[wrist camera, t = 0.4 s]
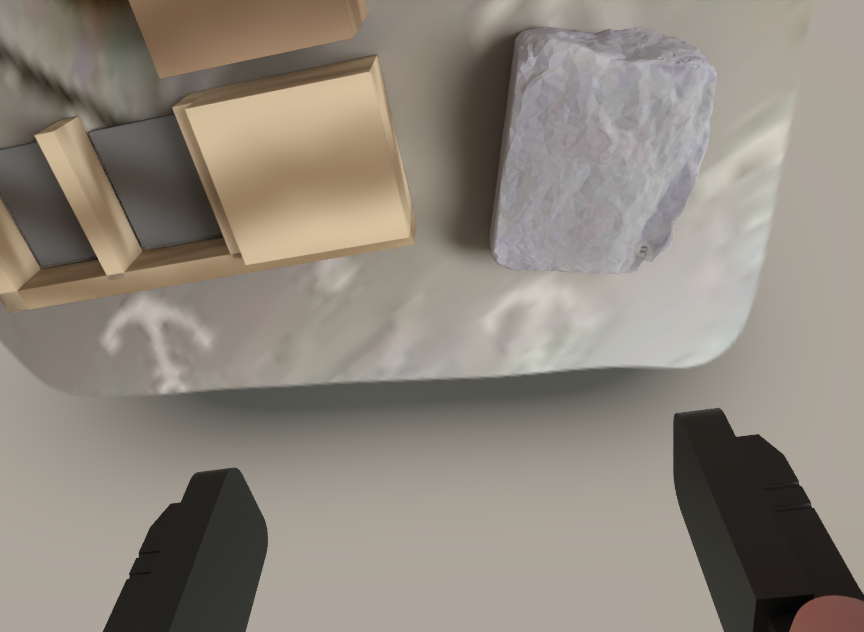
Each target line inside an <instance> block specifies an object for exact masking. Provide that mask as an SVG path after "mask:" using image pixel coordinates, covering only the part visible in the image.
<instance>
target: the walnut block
mask: <svg viewBox="0 0 864 632" xmlns="http://www.w3.org/2000/svg"><path fill="white" fill-rule="evenodd" d="M129 3H130V5H131V8H132V10H133V13H134V15H135V18H136V20H137V23H138V25H139V28H140V30H141V33H142V35H143V38H144V40H145V43H146V45H147V48H148V50H149V53H150V55H151V58H152V60H153V63H154V65H155V68H156V70H157V73H158V75H159V78H160V79H161V78H166V77H170V76H175V75H180V74H184V73H189V72H194V71H199V70H203V69H208V68H213V67H218V66H222V65H227V64H232V63H237V62H241V61H246V60H251V59H256V58H260V57H265V56H270V55H275V54H279V53H284V52H289V51H294V50H298V49H303V48H308V47H313V46H317V45H322V44H327V43H332V42H336V41H341V40H346V39H351V38H352V37H353V36H354V34H355V33H356V31H357V30H358V28H359V27H360V25H361V24H362V22H363V21H364V19H365V18H366V16H367V15H368V12H367V7H366V3H365V0H129Z"/></svg>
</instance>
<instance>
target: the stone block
mask: <svg viewBox="0 0 864 632" xmlns="http://www.w3.org/2000/svg"><path fill="white" fill-rule="evenodd" d="M716 80H717V74H716V71H715V68H714V67H713V66H712V64H711V63H710V61H709V59H708V58H707V57H706V56H705V55H704V54H703V53H701V52H700V51H699V50H698V48H696V47H695V46H693V45H691V44H689V43H686V42H685V41H682V40H680V39H677V38H673V37H668V36H665V35H661V34H659V33H656V32H655V31H653V30H646V29H643V28H634V29H625V30H615V31H613V30H611V29H608V30H605V31H602V32H599V33H596V34H595V33H583V32H580V31H576V30H573V31H572V30H569V29H558V28H548V27H539V28H532V29H529V30H524V31H522V32H521V33H520V34H519V35H518V36H517V37H516V39H515V43H514V52H513V59H512V66H511V74H510V82H509V90H508V98H507V105H506V113H505V121H504V128H503V135H502V143H501V151H500V159H499V167H498V176H497V183H496V191H495V198H494V204H493V212H492V219H491V225H490V240H489V246H490V249H491V255H492V257H493V259H494V261H495V262H496V263H497V264H499V265H501V266H504V267H506V268H509V269H513V270H523V269H527V270H533V271H537V270H551V271H564V272H579V273H586V274H622V273H630V272H634V271H637V270H638V269H639V268H640V267H641V266H642V265H643V264H644V263H645V261H649V262H653V261H655V260H656V259H657V258H658V257H659V256H660V255H661V254H662V253H663V252H664V251H665V250H666V249H667V248H668V247H669V246H670V244H671V242H672V240H673V229H674V224H675V222H676V220H677V218H678V217H679V216H680V214H681V213H682V212H683V211H684V209H685V207H686V205H687V203H688V201H689V198H690V195H691V193H692V191H693V189H694V186H695V183H696V180H697V177H698V174H699V171H700V168H699V166H700V164H701V162H702V160H703V158H704V155H705V152H706V150H707V147H708V140H709V136H710V121H709V118H710V116H711V115H712V114H713V98H714V94H715V86H716Z"/></svg>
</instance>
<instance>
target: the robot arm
mask: <svg viewBox="0 0 864 632" xmlns="http://www.w3.org/2000/svg"><path fill="white" fill-rule="evenodd" d="M673 425H674V426H673V432H674V433H673V442H674V443H673V446H674V447H673V452H674V453H673V459H674V460H673V472H674V473H673V474H674V484H675V490H676V495H677V499H678V503H679V506H680V510H681V513H682V515H683V518H684V521H685V524H686V527H687V529H688V532H689V535H690V538H691V540H692V543H693V546H694V549H695V552H696V555H697V557H698V560H699V563H700V566H701V568H702V571H703V574H704V577H705V580H706V582H707V585H708V588H709V591H710V593H711V597H712V599H713V602H714V605H715V608H716V611H717V613H718V616H719V619H720V622H721V624H722V627H723V630H724V632H864V594H863V593H862V591H861V590H860V588H859V587H858V585H857V583H856V581H855V580H854V578H853V576H852V574H851V573H850V571H849V569H848V568H847V565H846V564H845V562H844V560H843V558H842V557H841V555H840V553H839V551H838V550H837V548H836V546H835V544H834V543H833V541H832V539H831V537H830V535H829V534H828V532H827V530H826V528H825V527H824V525H823V523H822V521H821V520H820V518H819V516H818V514H817V513H816V511H815V509H814V508H812V507H811V502H810V500H809V498H808V497H807V495H806V493H805V491H804V490H803V488H802V486H800V485H799V481H798V479H797V477H796V476H795V474H794V472H793V470H792V468H791V467H790V465H789V463H788V461H787V460H786V458H785V456H784V455H783V454H782V453H781V452H779V451H778V450H777V449H776V448H775V447H773V446H772V445H771V444H770V443H768V442H767V441H766V440H765V439H764V438H762V437H761V436H760V435H759V434H757V435H748V436H741V437H736V436H735V434H734V432H733V430H732V428H731V426H730V424H729V422H728V420H727V418H726V416H725V414H724V412H723V411H722V410H721V409H720V408H714V409H706V410H699V411H690V412H682V413H676V414H675V415H674V422H673ZM267 547H268V533H267V527H266V522H265V520H264V517H263V515H262V513H261V511H260V509H259V507H258V505H257V503H256V501H255V499H254V497H253V495H252V493H251V491H250V489H249V487H248V485H247V483H246V481H245V479H244V477H243V475H242V473H241V472H240V470H239V469H237V468H228V469H220V470H212V471H204V472H197V473H195V474H194V475H193V476H192V478H191V480H190V482H189V484H188V486H187V489H186V491H185V494H184V496H183V498H182V501H181V503H173V504H170V505H169V506H168V508H167V509H166V510H165V511H164V512H163V513H162V514H161V515H160V517H159V518H158V519H157V520H156V521H155V522H154V524H153V525H152V526H151V527H150V529H149V531H148V533H147V536H146V538H145V541H144V542H143V544H142V547H141V549H140V551H139V558H136V560H135V562H134V564H133V567H132V569H131V571H130V573H129V575H130V577H129V579H127V580H126V582H125V584H124V586H123V589H122V591H121V593H120V595H119V597H118V600H117V602H116V604H115V606H114V608H113V611H112V613H111V615H110V617H109V620H108V622H107V624H106V626H105V628H104V630H103V632H245V631H246V628H247V624H248V620H249V616H250V613H251V609H252V606H253V602H254V598H255V594H256V591H257V587H258V583H259V579H260V576H261V572H262V568H263V564H264V560H265V557H266V553H267Z"/></svg>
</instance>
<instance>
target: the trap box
mask: <svg viewBox="0 0 864 632" xmlns="http://www.w3.org/2000/svg"><path fill="white" fill-rule="evenodd" d="M172 109H173V111H174V114H171V115H166V116H161V117H156V118H151V119H146V120H141V121H136V122H131V123H126V124H122V125H117V126H112V127H107V128H102V129H97V130H92V131H90V132H88V133H89V135H90V137H91V139H92V141H93V143H94V145H95V148H96V150H97V152H98V154H99V156H100V158H101V160H102V162H103V164H104V167H105V169H106V171H107V173H108V175H109V177H110V179H111V181H112V184H113V186H114V188H115V190H116V192H117V194H118V196H119V198H120V200H121V203H122V205H123V207H124V209H125V211H126V213H127V215H128V217H129V219H130V222H131V224H132V226H133V228H134V230H135V232H136V234H137V236H138V238H139V241H140V243H141V245H142V247H143V248H146V247H151V246H157V245H163V244H168V243H174V242H180V241H185V240H191V239H197V238H202V237H208V236H214V235H219V234H223V237H220V238H214V239H209V240H203V241H197V242H192V243H186V244H180V245H175V246H169V247H163V248H158V249H152V250H146V251H142V249H141V247H140V245H139V243H138V241H137V239H136V237H135V235H134V233H133V230H132V228H131V226H130V224H129V222H128V220H127V218H126V216H125V214H124V211H123V209H122V207H121V205H120V203H119V201H118V199H117V197H116V195H115V193H114V190H113V188H112V186H111V184H110V182H109V180H108V178H107V176H106V174H105V171H104V169H103V167H102V165H101V163H100V161H99V159H98V157H97V155H96V153H95V150H94V148H93V146H92V144H91V142H90V140H89V138H88V136H87V134H86V131H85V129H84V127H83V125H82V123H81V121H80V119H79V117H78V116H77V117H73V118H68V119H63V120H59V121H58V122H56V123H54V124H53V125H51V126H49V127H48V128H46V129H44V130H43V131H41V132H39V133H37V134H36V135H34V136H35V138H36V140H37V142H33V143H28V144H23V145H18V146H13V147H8V148H3V149H0V193H1V195H2V197H3V199H4V200H5V202H6V204H7V206H8V207H9V209H10V211H11V213H12V214H13V216H14V218H15V220H16V222H17V223H18V225H19V227H20V229H21V230H22V232H23V234H24V236H25V237H26V239H27V241H28V243H29V244H30V246H31V248H32V250H33V251H34V253H35V255H36V257H37V258H38V260H39V262H40V264H41V265H42V266H44V265H50V264H55V263H61V262H67V261H72V260H78V259H84V258H89V257H95V256H97V258H98V259H95V260H89V261H84V262H78V263H72V264H67V265H61V266H55V267H50V268H44V269H40V267H39V265H38V263H37V262H36V260H35V258H34V256H33V255H32V253H31V251H30V249H29V248H28V246H27V244H26V242H25V241H24V239H23V237H22V235H21V234H20V232H19V230H18V228H17V227H16V225H15V223H14V221H13V220H12V218H11V216H10V214H9V213H8V211H7V209H6V208H5V206H4V204H3V202H2V201H1V199H0V300H1V301H2V303H3V305H4V306H5V308H6V309H7V311H8V313H10V312H16V311H22V310H28V309H34V308H40V307H46V306H52V305H58V304H64V303H70V302H76V301H82V300H88V299H94V298H100V297H106V296H111V295H117V294H123V293H129V292H135V291H141V290H147V289H153V288H159V287H165V286H171V285H177V284H183V283H189V282H195V281H201V280H207V279H213V278H218V277H224V276H230V275H236V274H242V273H248V272H254V271H260V270H266V269H272V268H278V267H284V266H290V265H296V264H302V263H308V262H314V261H320V260H325V259H331V258H337V257H343V256H349V255H355V254H361V253H367V252H373V251H379V250H385V249H391V248H397V247H403V246H409V245H414V240H415V231H416V221H415V216H414V212H413V208H412V203H411V199H410V195H409V190H408V186H407V182H406V177H405V173H404V169H403V164H402V160H401V156H400V151H399V147H398V143H397V138H396V134H395V130H394V125H393V121H392V117H391V112H390V108H389V104H388V99H387V95H386V91H385V86H384V82H383V77H382V73H381V69H380V64H379V60H378V56H377V55H373V56H368V57H363V58H358V59H354V60H349V61H344V62H339V63H334V64H329V65H325V66H320V67H315V68H310V69H305V70H300V71H295V72H291V73H286V74H281V75H276V76H271V77H266V78H262V79H257V80H252V81H247V82H242V83H237V84H232V85H228V86H223V87H218V88H213V89H208V90H203V91H199V92H194V93H190V94H188V95H187V96H186V97H184V98H183V99H182V100H181V101H179V102H178V103H177V104H175V105H174V106H173V107H172Z"/></svg>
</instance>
